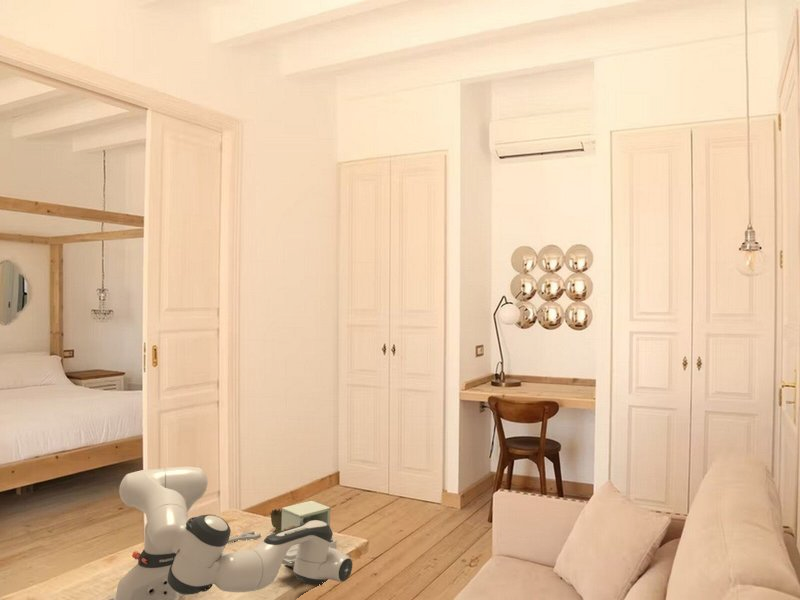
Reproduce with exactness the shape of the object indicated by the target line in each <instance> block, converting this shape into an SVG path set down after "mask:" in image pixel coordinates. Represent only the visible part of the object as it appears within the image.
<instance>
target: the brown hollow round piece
mask: <svg viewBox="0 0 800 600" xmlns="http://www.w3.org/2000/svg"><path fill="white" fill-rule="evenodd" d="M270 521H271V524H272V527H273V528H274V531H275V533H276V532H279V531H281V527H282V508H281V509H280V508H277V509H276V508H275V509H273V510H272V509H271V512H270Z"/></svg>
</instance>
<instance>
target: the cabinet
mask: <svg viewBox="0 0 800 600" xmlns="http://www.w3.org/2000/svg"><path fill="white" fill-rule="evenodd" d="M281 509H282V527H281V531H283V530H284V528H287V527H291V526H300V525H302V524H304V523H306V522H308V521H313V520H319V521H323V522H326V523H327V524H328V525H329V526H330V527H331V507H330V506H327V505H324V504H322V503H319V502H317V501H313V500H309V501H304V502H301V503H296V504H293V505H289V506H283V507H281Z"/></svg>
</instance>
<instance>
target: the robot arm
mask: <svg viewBox="0 0 800 600" xmlns="http://www.w3.org/2000/svg"><path fill="white" fill-rule="evenodd" d="M208 482H209V481H208V477H207V474H206V472H205V471H204V469H203V468H201V467H197V466H187V465H186V466H185V465H184V466H171V467H163V468H162V467H161V468H151V469H149V468H148V469H142V470H138V471H134V472H133V471H132V472H129V473H127V474H125V475H124V477H123V478H122V480H121V482H120V484H119V489H118V493H119V497H120V499H121V502H122V503H124V505H125V506H127V507H131V508H135V509H138V510H139V511H141V512H143V513H144V515H145V516H146V524H145V525H144V527H145V528H144V542H143V543H144V547H143V550H142V551H141V553H140V552H139V551H138V550H137V551H136V550H134V551H133V552H132V555H131V557H132V558H133V559H134V560H137V561H138V562H137V563H136V565H134V566H133V567H132V568H131V569H130V570H129V571H128V572H127V573H126V574H125V575H124V576H122V577H121V578H120V579H119V581H118V584H117V588H116V593H115V594H112V595H110V596H109V598H108V600H181V598H182V597H183V596H188V595H189V596H190V595H196V594H200V593H205V592H207V591H209V590H210V589H211V588H212V587H213V585H214V586H216V587H217V589H219V590H220V591H223V592H229V593H249V592H255V591H261V590H263V589H265V588H267V587H268V586H270V585H271V584H272V583H273V582H274V581H275V579H276V578H277V576H278V574H279V571H280V570H281V566H282V565H285V566H289V567H290V566H292V565H294V568H293V571H292V572H293V574H294V577H295V578H296V579H297V580H298V581H300V582H302V583H303V584H304V583H305V584H306V585H310V586H311V585H313V586H315V585H319V584H322V583H324V582H326V581H327V580H331V581H335V582H339V583H343V582H345V581H347V580H348V579H349V578H350V576H351V574H352V570H353V560H352V559H351V557H350V556H349V555H348V554H346V553H344V552H343V551H341V550H339V549H337V540H336V539H333V536H334V535H333V534H334V532H333V530H332V529H331V525H330V526H329V525H328V524H327V523H326V522H323V521H319V520H313V521H308V522H306V523H304V524H302V525H300V526H296V527H293V528H290V529H286V530H283V531H279V532H276V531H275V532H274V533H271V534H269V535H267V536H266V537H265V538H264V539H263V541H262V542H260V543H259V544H257V545H256V546H254V547H252V548H250V549H243V550H237V551H236V550H235V551H233V552H225V551H224V550H225V548H226V545H227V543H228V540H229V538H231V531H232V530H231V527H230V525H229V523H228V522H227V521H226V520H225V519H224V518H223V517H220V516H217V514H216V515H215V514H203V515H199V516H194V517H190V518H189V514H188V513H189V511H190V509H191V508H192V506H193V505H195V503H196V502H198V501H199V500H200V499H201V498H202V497H203V496H204V495H205V493H206V492H207V488H208ZM228 544H229V543H228Z"/></svg>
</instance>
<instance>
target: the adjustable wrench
mask: <svg viewBox="0 0 800 600" xmlns="http://www.w3.org/2000/svg"><path fill="white" fill-rule="evenodd" d="M259 537H260V538H261V533H260V532H258V533H257V534H255V531H254V530H253V531H252V530H251V531H246V532H242V533H241V534H240V535H236V536H232V537H229V540H228V544H230V543H229V542H232V543H234V542H233V541H237V542H239V541H238V540H242V541H251V540H250V539H255V540H258V539H257V538H259ZM260 538H259V539H260ZM246 539H247V540H246Z"/></svg>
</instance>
